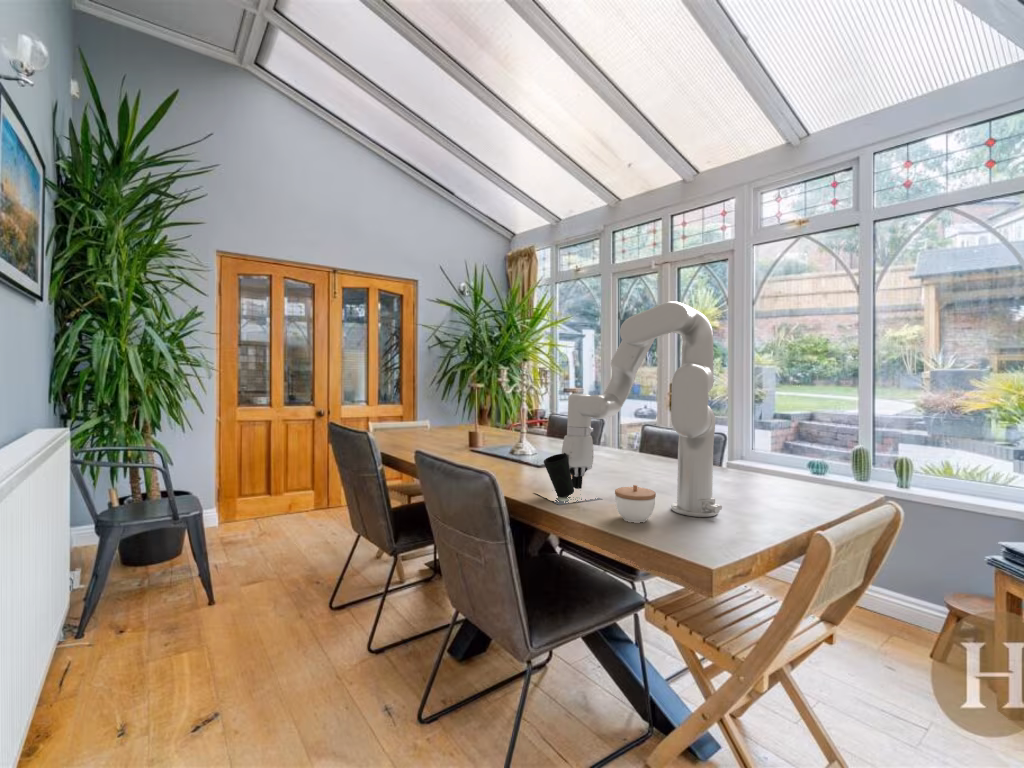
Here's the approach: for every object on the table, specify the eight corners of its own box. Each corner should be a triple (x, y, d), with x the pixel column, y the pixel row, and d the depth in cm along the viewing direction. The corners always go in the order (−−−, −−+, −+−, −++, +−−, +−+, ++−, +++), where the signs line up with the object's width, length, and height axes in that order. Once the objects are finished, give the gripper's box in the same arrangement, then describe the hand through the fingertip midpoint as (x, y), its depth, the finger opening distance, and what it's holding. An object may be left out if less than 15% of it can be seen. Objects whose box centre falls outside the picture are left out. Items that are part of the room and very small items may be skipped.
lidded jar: (632, 528, 129) (633, 491, 128) (606, 517, 138) (606, 483, 138) (663, 522, 134) (664, 487, 133) (636, 512, 143) (637, 479, 143)
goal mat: (602, 499, 157) (602, 498, 157) (558, 505, 150) (558, 504, 150) (573, 488, 171) (573, 487, 171) (532, 493, 164) (532, 492, 164)
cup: (576, 495, 156) (565, 459, 154) (553, 500, 157) (542, 465, 156) (577, 486, 163) (567, 451, 162) (555, 491, 165) (544, 457, 163)
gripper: (591, 429, 169) (589, 483, 170) (553, 431, 162) (551, 487, 163) (604, 432, 162) (602, 488, 163) (565, 434, 156) (563, 492, 156)
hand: (576, 487), depth 163 cm, fingers closed
